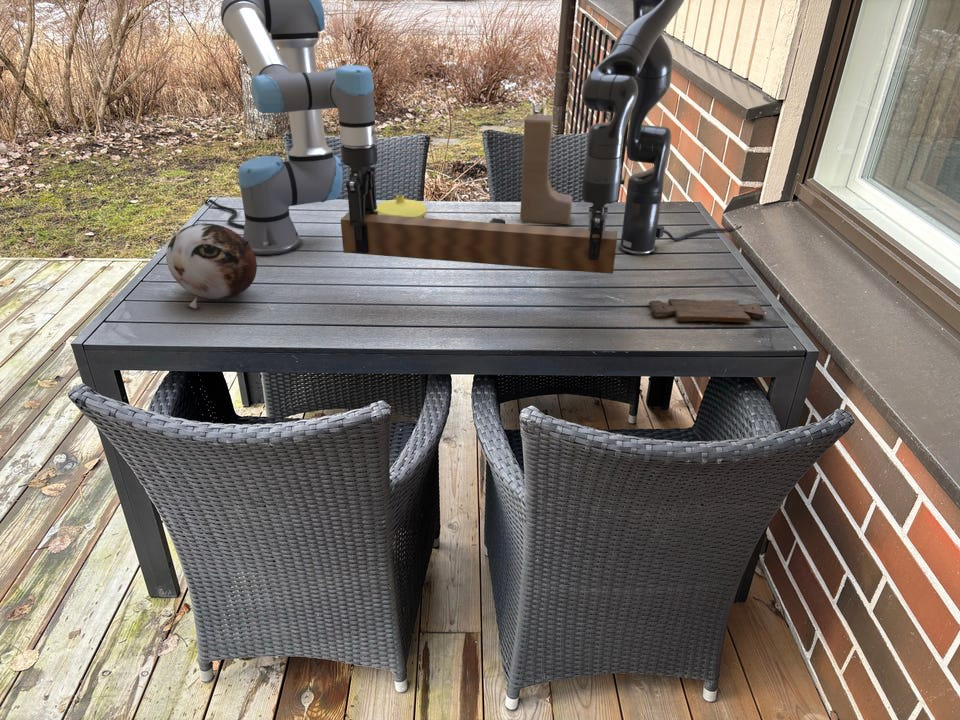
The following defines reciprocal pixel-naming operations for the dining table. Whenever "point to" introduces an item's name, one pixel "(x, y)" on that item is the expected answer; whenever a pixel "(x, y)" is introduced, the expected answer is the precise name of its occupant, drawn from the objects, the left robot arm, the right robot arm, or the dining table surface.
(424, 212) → the yellow round flat dome
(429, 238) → the beam
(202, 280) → the cat face balloon
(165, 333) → the dining table surface
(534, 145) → the decorative block
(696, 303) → the dark wooden board
